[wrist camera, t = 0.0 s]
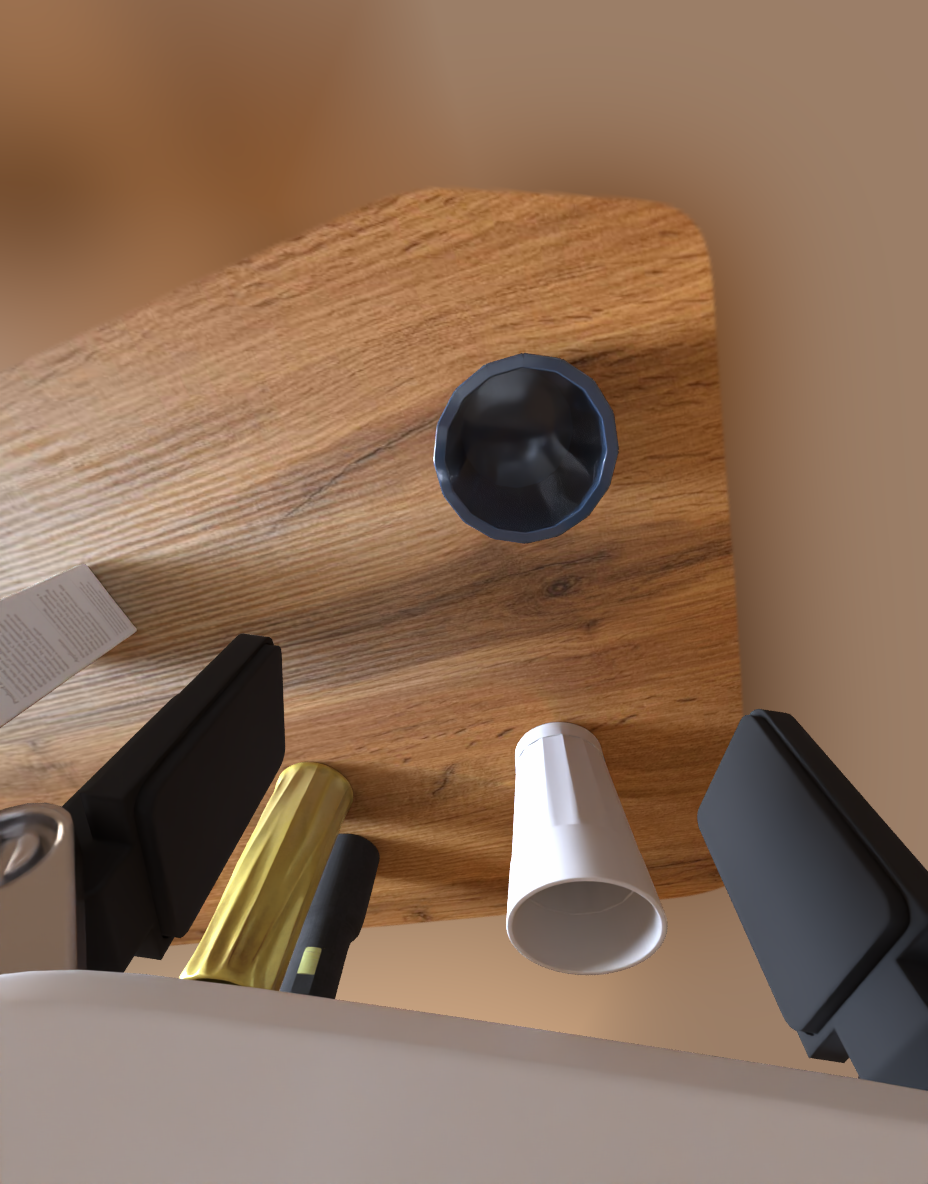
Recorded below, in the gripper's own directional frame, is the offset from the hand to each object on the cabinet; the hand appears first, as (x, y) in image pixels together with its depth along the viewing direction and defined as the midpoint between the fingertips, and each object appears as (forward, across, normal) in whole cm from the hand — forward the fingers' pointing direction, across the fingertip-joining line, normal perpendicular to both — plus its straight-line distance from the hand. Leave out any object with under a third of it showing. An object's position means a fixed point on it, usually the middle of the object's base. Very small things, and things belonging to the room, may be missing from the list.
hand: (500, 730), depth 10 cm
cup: (+20, -7, +18) cm, 28 cm away
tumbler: (+19, 0, -4) cm, 20 cm away
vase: (+20, +11, +25) cm, 34 cm away
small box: (+20, +28, +12) cm, 36 cm away
